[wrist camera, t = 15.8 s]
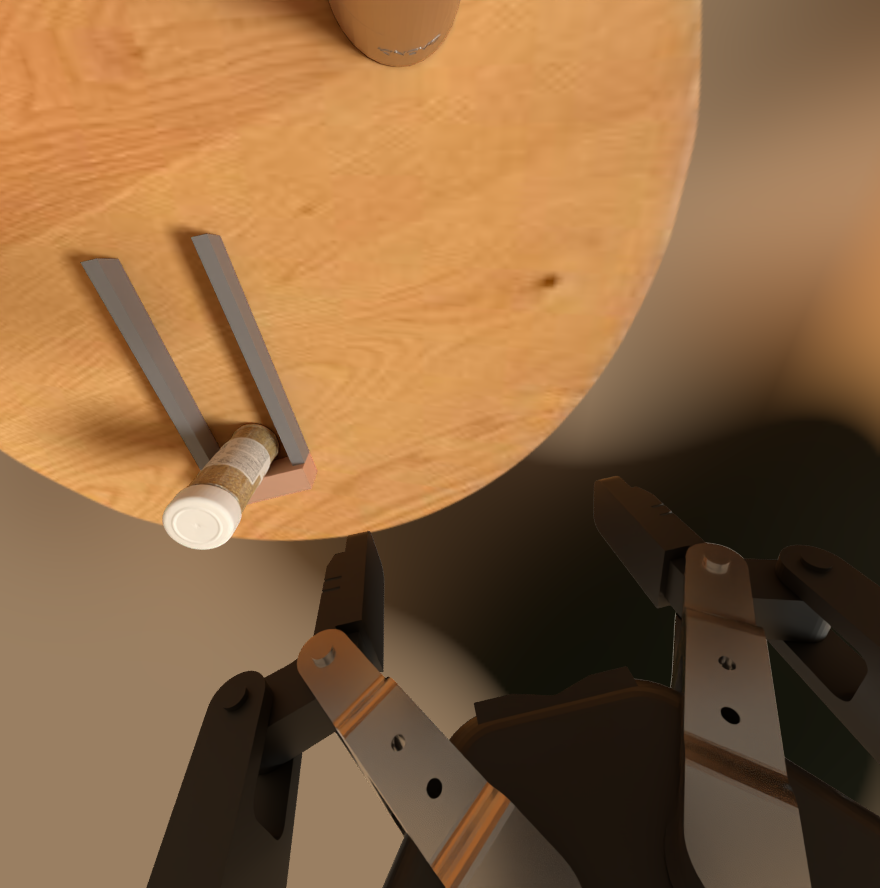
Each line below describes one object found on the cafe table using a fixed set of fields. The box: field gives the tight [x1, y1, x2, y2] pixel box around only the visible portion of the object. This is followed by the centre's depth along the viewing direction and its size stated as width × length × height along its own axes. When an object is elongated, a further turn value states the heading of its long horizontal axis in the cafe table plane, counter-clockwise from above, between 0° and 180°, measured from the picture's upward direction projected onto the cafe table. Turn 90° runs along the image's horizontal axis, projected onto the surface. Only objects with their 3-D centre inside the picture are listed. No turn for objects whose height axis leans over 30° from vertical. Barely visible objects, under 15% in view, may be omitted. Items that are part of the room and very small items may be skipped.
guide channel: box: [80, 234, 317, 504], centre depth 33 cm, size 22×9×4 cm, turn 12°
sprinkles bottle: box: [163, 424, 279, 549], centre depth 32 cm, size 5×5×14 cm
